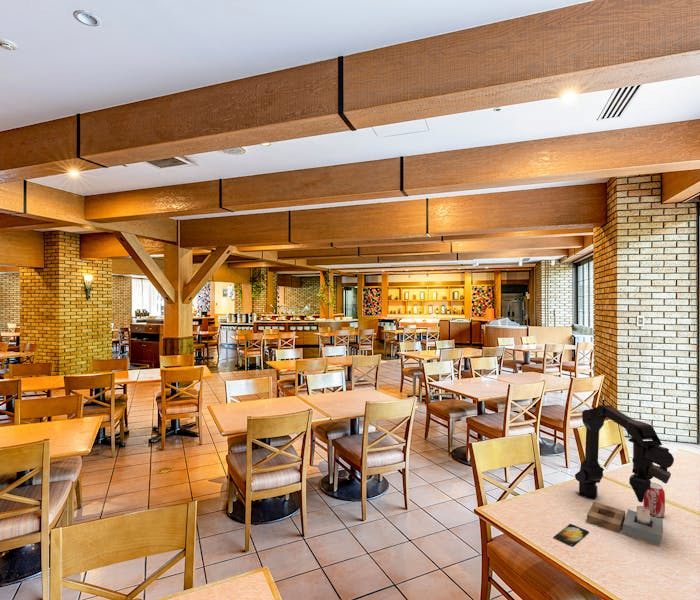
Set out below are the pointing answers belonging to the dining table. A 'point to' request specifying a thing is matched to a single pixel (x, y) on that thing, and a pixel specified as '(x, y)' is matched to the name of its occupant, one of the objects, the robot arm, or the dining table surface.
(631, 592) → the dining table surface
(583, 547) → the dining table surface
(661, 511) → the soda can
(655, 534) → the slate socket
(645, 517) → the steel pin
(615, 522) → the walnut mount
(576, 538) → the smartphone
